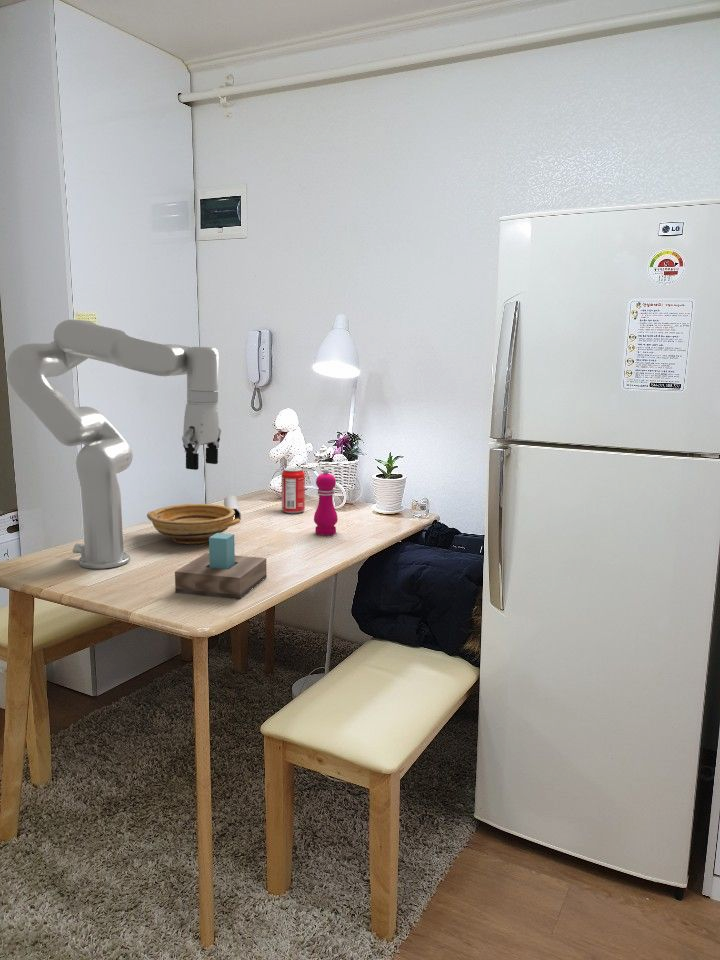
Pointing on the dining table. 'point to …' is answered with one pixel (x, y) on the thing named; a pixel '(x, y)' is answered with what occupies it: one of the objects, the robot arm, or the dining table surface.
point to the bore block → (220, 577)
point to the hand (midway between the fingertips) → (202, 466)
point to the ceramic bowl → (192, 521)
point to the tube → (233, 505)
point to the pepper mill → (325, 505)
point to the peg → (221, 551)
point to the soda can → (293, 490)
